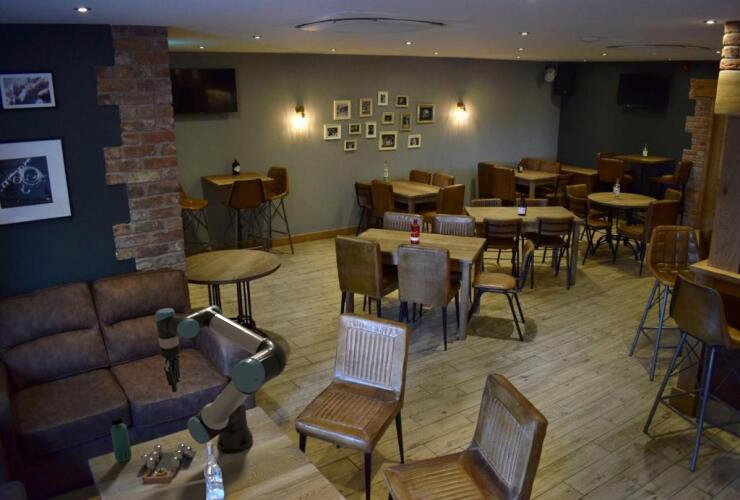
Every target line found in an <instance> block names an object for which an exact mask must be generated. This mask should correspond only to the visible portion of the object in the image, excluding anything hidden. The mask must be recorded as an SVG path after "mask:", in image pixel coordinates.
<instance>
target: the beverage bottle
mask: <svg viewBox="0 0 740 500" xmlns="http://www.w3.org/2000/svg"><path fill="white" fill-rule="evenodd" d="M123 422H124V420H123V417H122V416H121V415H118V416H115V417H113V418H112V419H111V424H112V426H111V428H110V433H111V439H112V440H111V441H112V446H113V452H114V453H113V454H114V459H115V461H116V462H118V463H121V462H122V463H123V462H127V461H129V460H131V458H132V450H131V444H130V439H129V438H130V437H129V432H128V426H127V424H125V423H123Z"/></svg>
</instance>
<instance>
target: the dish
mask: <svg viewBox="0 0 740 500" xmlns="http://www.w3.org/2000/svg"><path fill="white" fill-rule="evenodd" d="M151 473H152V472H151V471H150V469H148V471H147V472H145V474H144V476H143V477H142V481H143V483H150V482H151V483H152V482H153V483H154V482H171V481H172V480H173V479H174V477H175V474H176V473H177V471H176V467H175V468H174V469H173V471H171V474H170V475H169V476H168V475H167V476H162V477H156V476H150V474H151Z"/></svg>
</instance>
